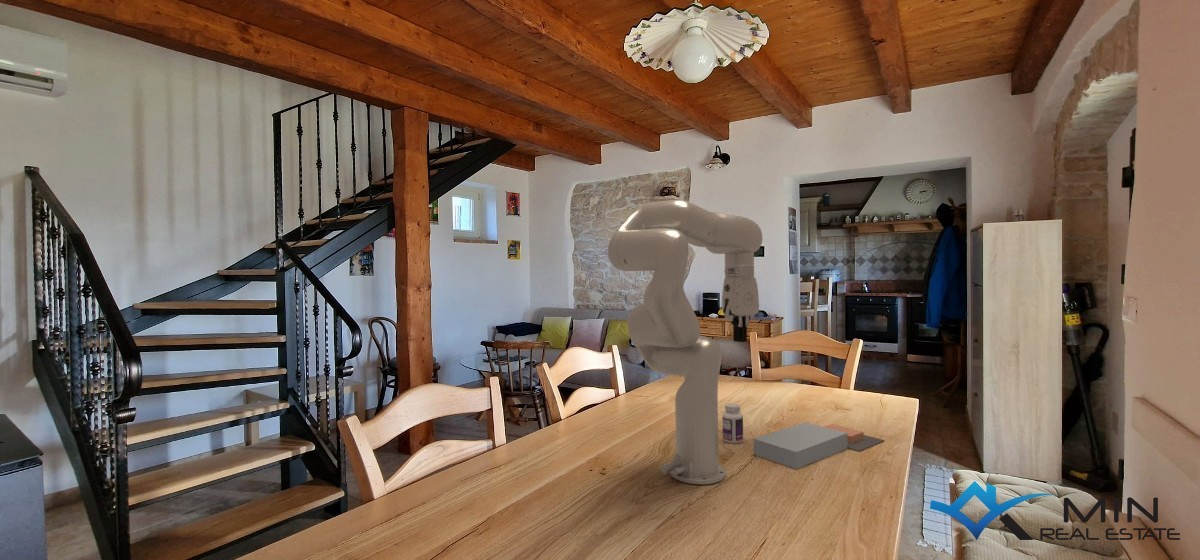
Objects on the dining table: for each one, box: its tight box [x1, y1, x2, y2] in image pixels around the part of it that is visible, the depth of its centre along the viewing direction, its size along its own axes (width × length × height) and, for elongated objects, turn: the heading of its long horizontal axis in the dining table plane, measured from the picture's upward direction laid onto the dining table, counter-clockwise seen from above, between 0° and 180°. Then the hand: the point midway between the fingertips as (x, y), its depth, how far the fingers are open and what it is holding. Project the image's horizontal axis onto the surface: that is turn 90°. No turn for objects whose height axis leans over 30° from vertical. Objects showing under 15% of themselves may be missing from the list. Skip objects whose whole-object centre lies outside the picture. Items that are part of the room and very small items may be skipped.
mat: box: [846, 434, 886, 453], centre depth 139 cm, size 13×14×1 cm
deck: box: [753, 421, 848, 470], centre depth 130 cm, size 22×12×4 cm, turn 125°
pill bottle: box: [721, 402, 744, 444], centre depth 139 cm, size 5×5×10 cm
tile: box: [822, 423, 865, 444], centre depth 139 cm, size 6×9×2 cm, turn 33°
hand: (740, 341), depth 137 cm, fingers closed
